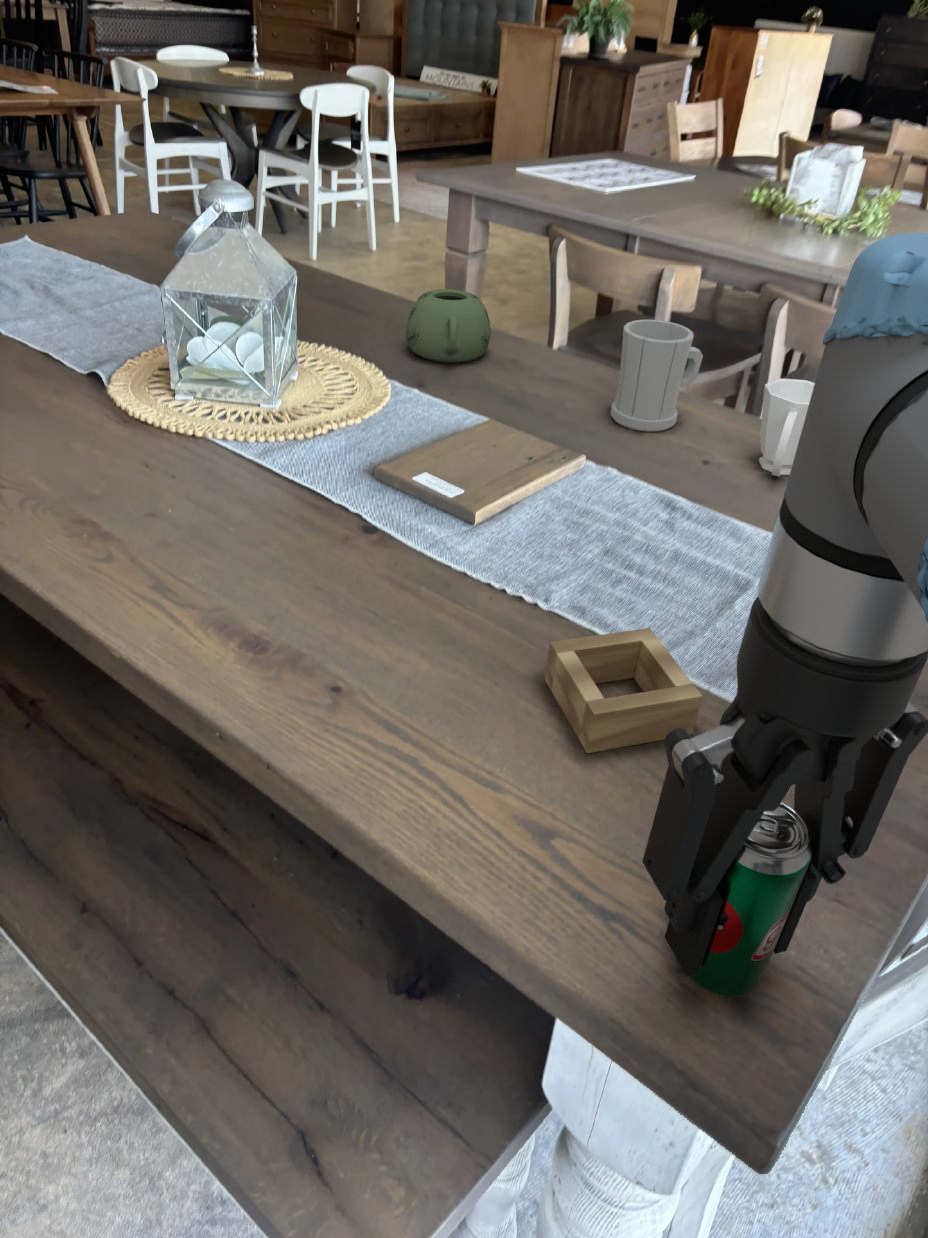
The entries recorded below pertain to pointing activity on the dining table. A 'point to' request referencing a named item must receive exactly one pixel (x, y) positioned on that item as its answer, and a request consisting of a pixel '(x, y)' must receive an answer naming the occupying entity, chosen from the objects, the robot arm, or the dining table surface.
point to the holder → (626, 716)
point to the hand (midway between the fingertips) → (725, 943)
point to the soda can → (756, 902)
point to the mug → (448, 326)
